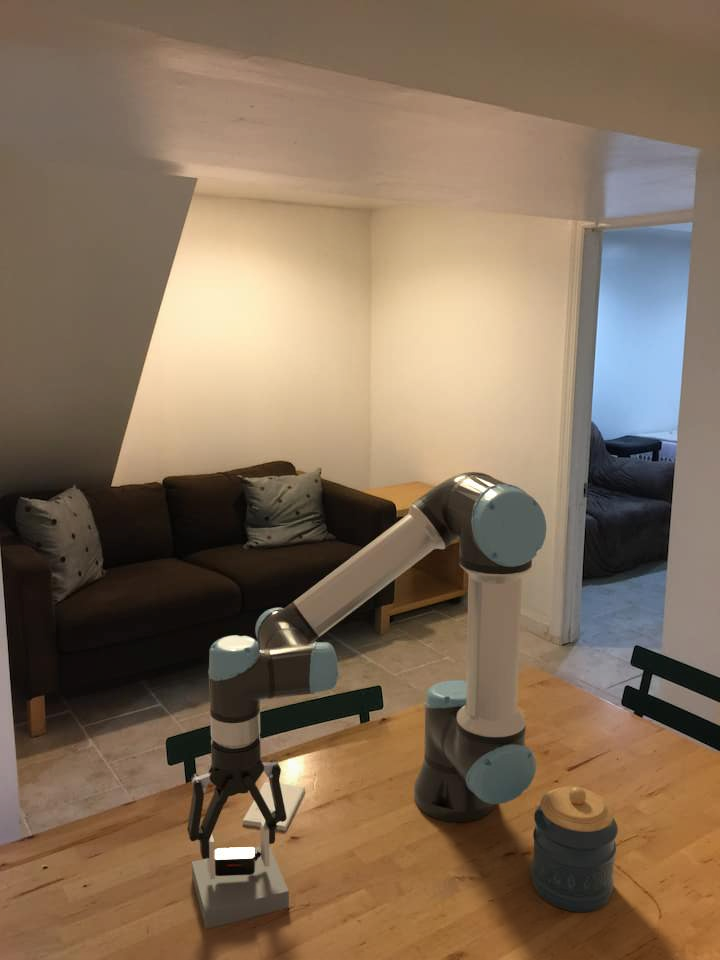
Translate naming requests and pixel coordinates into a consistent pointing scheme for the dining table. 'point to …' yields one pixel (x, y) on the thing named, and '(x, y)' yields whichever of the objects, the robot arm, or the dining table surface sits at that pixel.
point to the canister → (574, 849)
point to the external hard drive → (290, 800)
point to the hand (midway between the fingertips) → (238, 867)
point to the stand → (239, 892)
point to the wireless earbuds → (235, 861)
